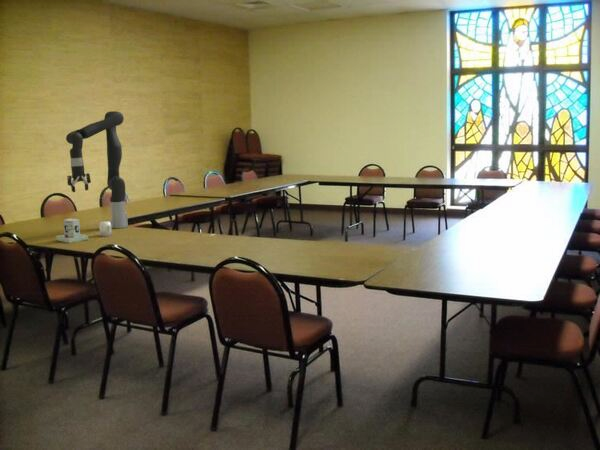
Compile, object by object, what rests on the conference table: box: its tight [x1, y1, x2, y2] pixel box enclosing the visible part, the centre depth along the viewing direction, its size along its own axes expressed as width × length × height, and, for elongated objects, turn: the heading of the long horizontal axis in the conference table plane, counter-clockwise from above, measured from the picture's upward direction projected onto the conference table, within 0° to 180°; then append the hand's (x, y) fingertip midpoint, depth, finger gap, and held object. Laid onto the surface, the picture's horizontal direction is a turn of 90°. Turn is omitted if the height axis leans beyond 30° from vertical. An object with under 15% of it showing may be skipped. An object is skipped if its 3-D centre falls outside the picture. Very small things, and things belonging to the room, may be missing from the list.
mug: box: [98, 221, 113, 237], centre depth 398 cm, size 7×9×8 cm
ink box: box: [63, 218, 81, 238], centre depth 385 cm, size 9×5×12 cm, turn 59°
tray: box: [56, 233, 89, 244], centre depth 386 cm, size 12×16×3 cm
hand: (80, 191), depth 403 cm, fingers open, 8 cm apart
